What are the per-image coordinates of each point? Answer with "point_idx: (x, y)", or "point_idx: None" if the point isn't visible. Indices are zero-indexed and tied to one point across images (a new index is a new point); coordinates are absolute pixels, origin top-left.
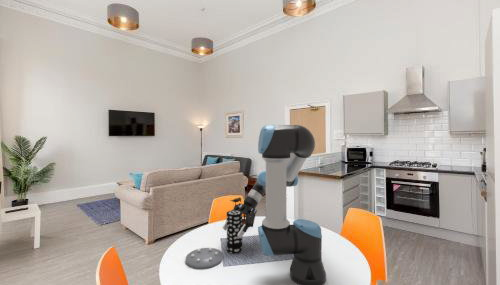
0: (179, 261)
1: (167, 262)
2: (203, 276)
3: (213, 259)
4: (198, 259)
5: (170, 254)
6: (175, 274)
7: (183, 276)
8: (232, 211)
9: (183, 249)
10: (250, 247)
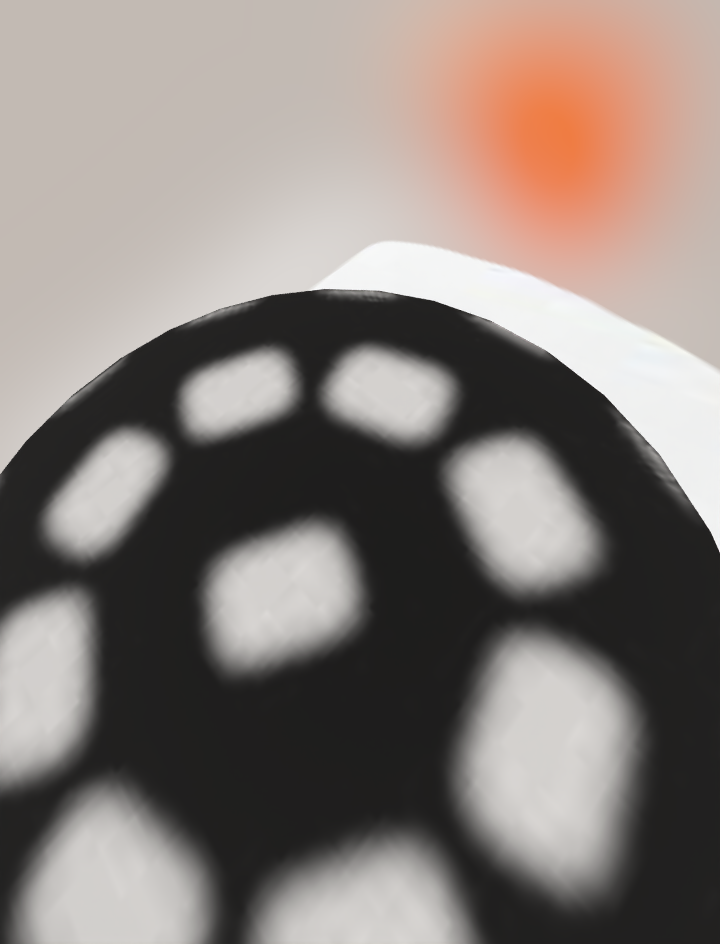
0: (471, 306)
1: (497, 273)
2: None
3: None
4: None
5: (570, 300)
6: (385, 268)
7: (352, 281)
8: (518, 658)
9: (591, 360)
10: None
